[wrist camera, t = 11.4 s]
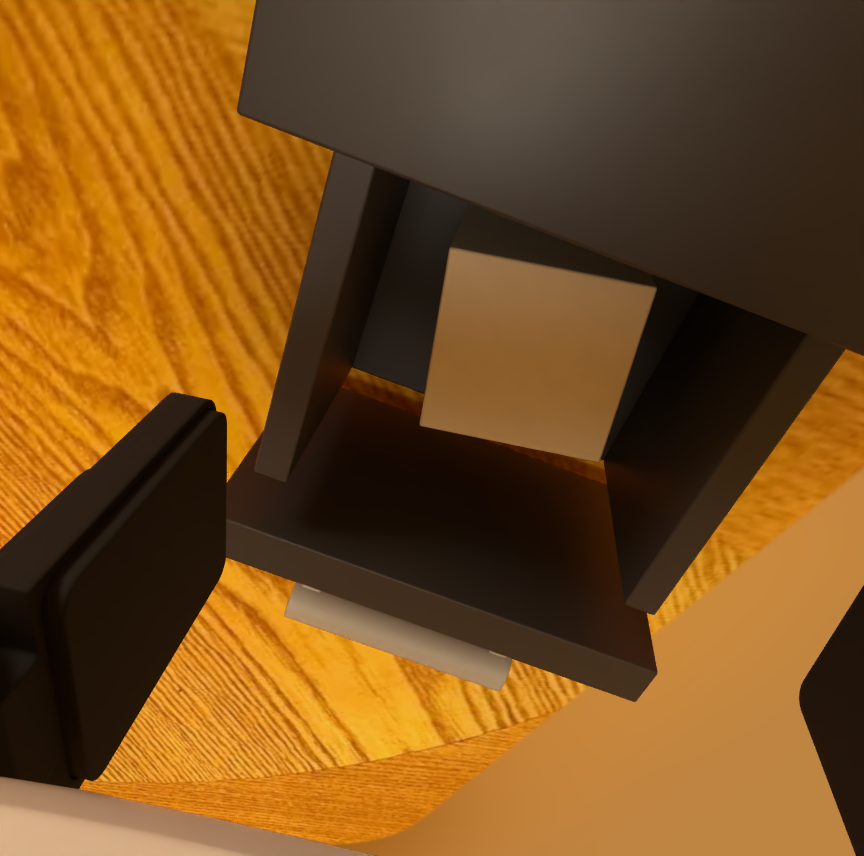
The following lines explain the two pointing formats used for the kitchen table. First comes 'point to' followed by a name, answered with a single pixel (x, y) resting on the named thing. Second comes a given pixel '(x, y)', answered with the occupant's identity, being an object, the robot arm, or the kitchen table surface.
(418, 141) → the cabinet
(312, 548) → the drawer
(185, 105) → the kitchen table surface
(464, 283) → the block
